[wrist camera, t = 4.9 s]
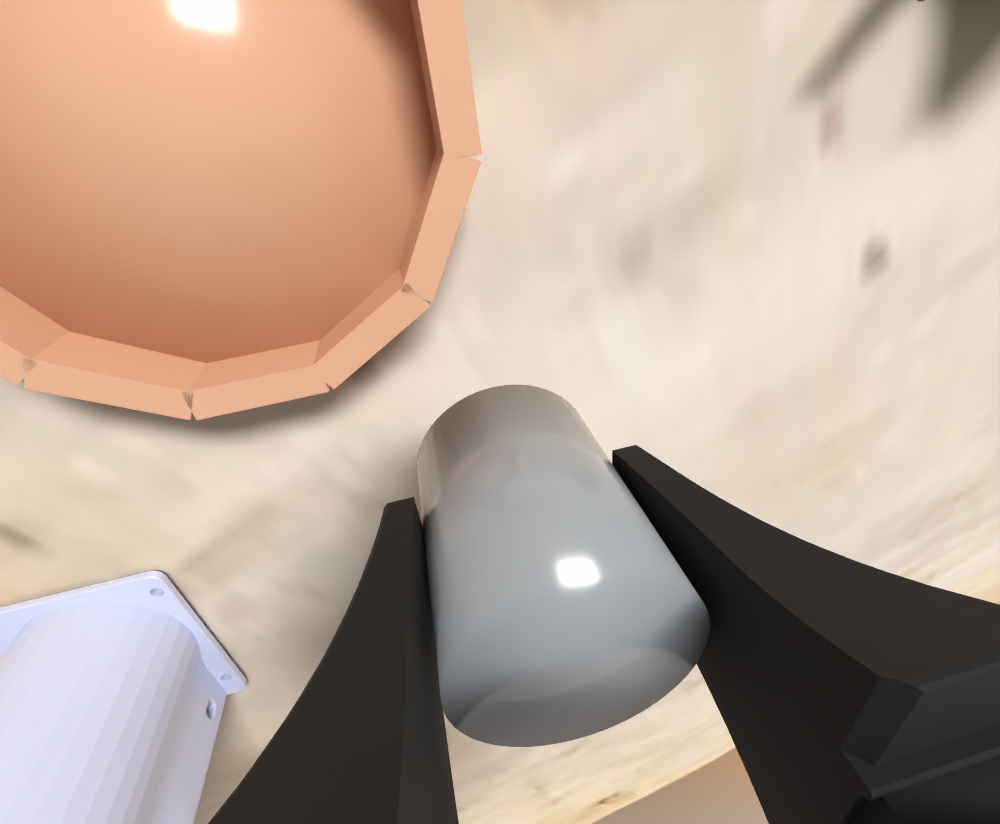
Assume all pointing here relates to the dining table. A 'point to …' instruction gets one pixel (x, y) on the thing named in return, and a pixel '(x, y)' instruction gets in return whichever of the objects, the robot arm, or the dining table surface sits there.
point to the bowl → (224, 192)
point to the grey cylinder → (545, 576)
